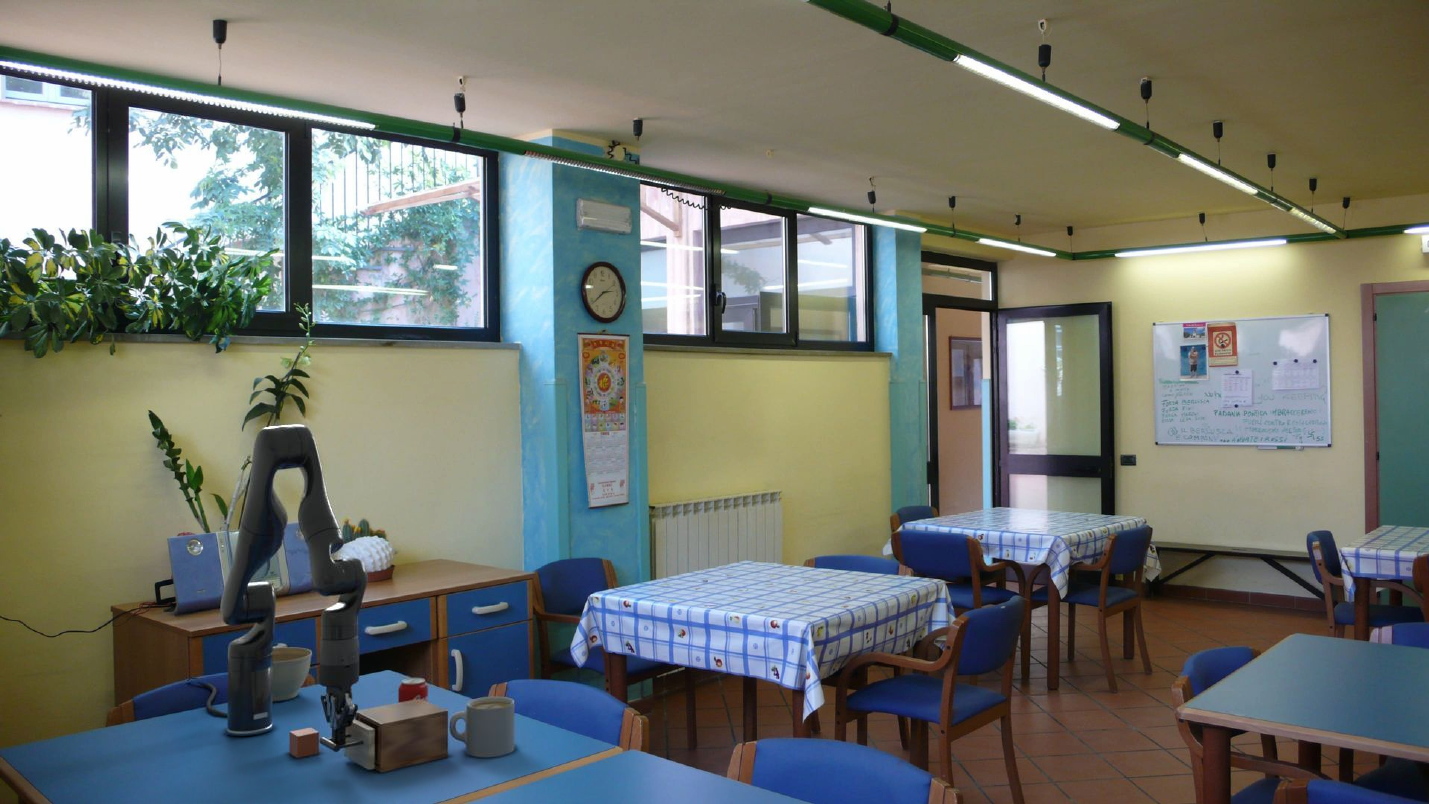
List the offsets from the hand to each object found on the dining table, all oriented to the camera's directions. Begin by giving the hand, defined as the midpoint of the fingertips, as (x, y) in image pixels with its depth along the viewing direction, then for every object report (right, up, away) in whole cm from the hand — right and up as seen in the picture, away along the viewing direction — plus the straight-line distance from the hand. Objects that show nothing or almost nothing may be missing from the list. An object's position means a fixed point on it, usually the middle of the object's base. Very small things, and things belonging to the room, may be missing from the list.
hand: (338, 746), depth 208 cm
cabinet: (+10, -5, +9) cm, 14 cm away
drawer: (+5, -4, +5) cm, 8 cm away
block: (-11, -5, +11) cm, 17 cm away
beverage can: (+8, -6, +25) cm, 26 cm away
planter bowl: (-36, -6, +55) cm, 66 cm away
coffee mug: (+26, -5, +14) cm, 30 cm away
